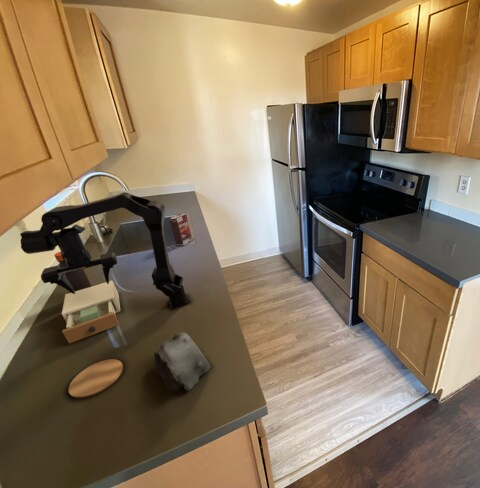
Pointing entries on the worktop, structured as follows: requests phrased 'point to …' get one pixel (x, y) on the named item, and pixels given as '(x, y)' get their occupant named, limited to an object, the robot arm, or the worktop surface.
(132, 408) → the worktop surface
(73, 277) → the bottle
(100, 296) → the cabinet
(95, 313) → the block
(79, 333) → the drawer
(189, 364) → the rock
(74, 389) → the trivet
